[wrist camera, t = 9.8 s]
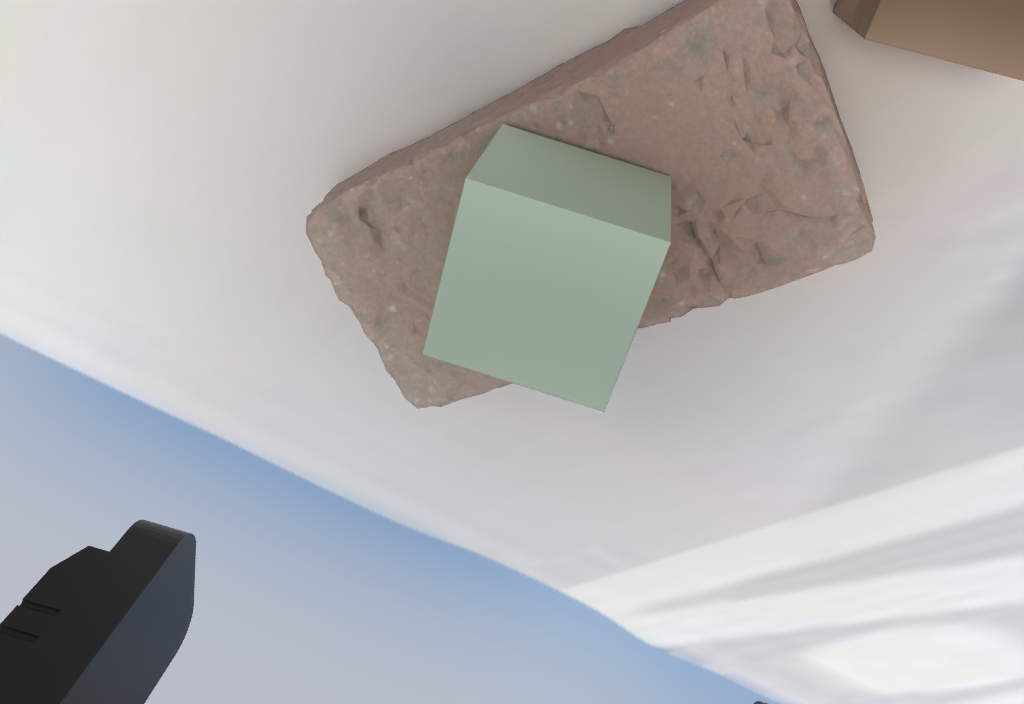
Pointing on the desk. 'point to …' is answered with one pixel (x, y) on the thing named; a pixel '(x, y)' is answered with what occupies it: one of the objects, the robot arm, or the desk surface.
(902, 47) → the walnut block
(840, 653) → the desk surface
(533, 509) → the desk surface
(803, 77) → the brick
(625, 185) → the green block
